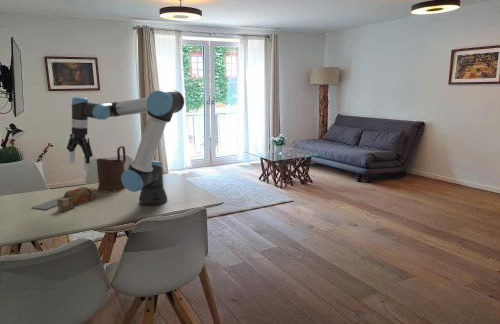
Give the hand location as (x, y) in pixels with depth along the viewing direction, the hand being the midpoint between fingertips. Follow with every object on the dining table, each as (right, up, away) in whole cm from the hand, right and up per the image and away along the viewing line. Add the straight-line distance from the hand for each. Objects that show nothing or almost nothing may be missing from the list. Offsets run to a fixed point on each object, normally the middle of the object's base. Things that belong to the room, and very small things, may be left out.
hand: (79, 166), depth 194 cm
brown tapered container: (+5, -14, +40) cm, 42 cm away
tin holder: (-2, -21, +4) cm, 21 cm away
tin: (-3, -21, +6) cm, 22 cm away
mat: (-16, -20, +8) cm, 27 cm away
